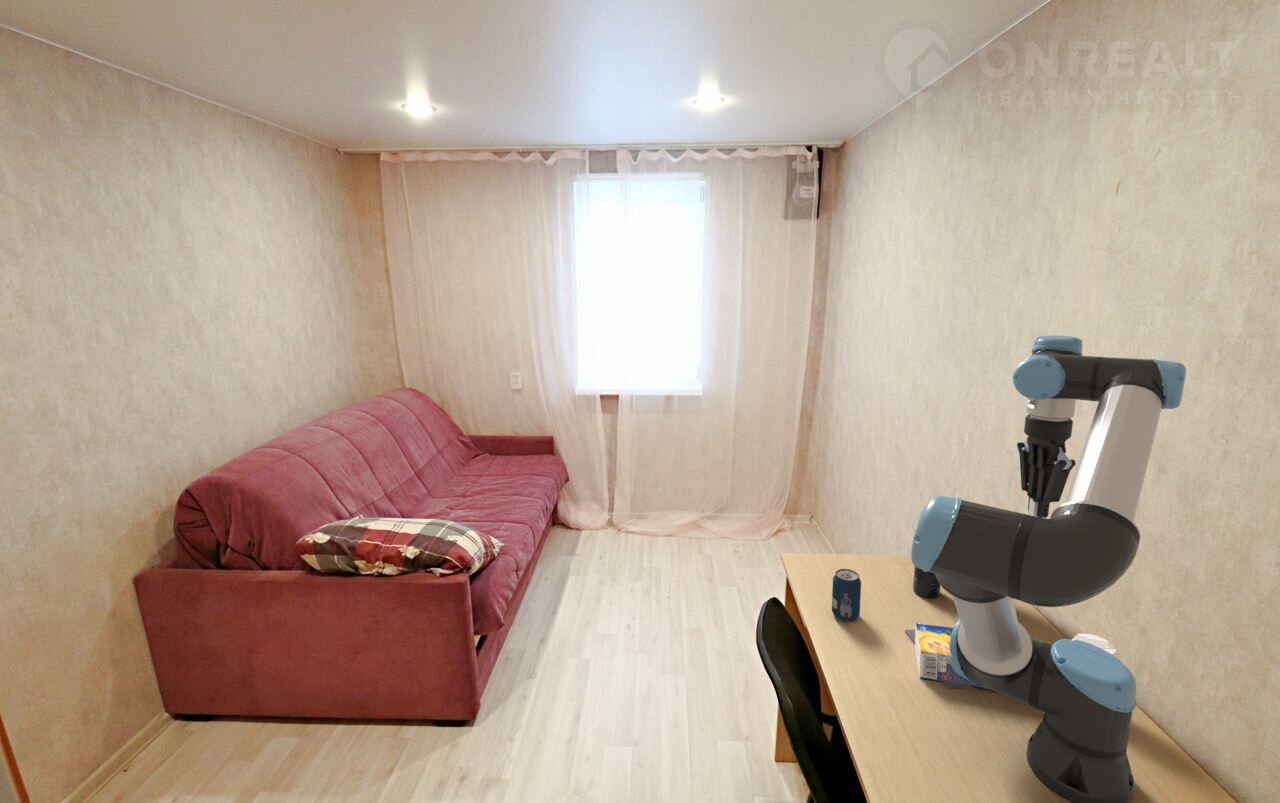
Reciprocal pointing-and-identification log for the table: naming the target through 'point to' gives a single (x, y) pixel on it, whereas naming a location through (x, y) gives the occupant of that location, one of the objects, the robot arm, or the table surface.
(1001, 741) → the table surface
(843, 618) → the soda can
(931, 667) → the beverage box
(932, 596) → the supplement bottle
